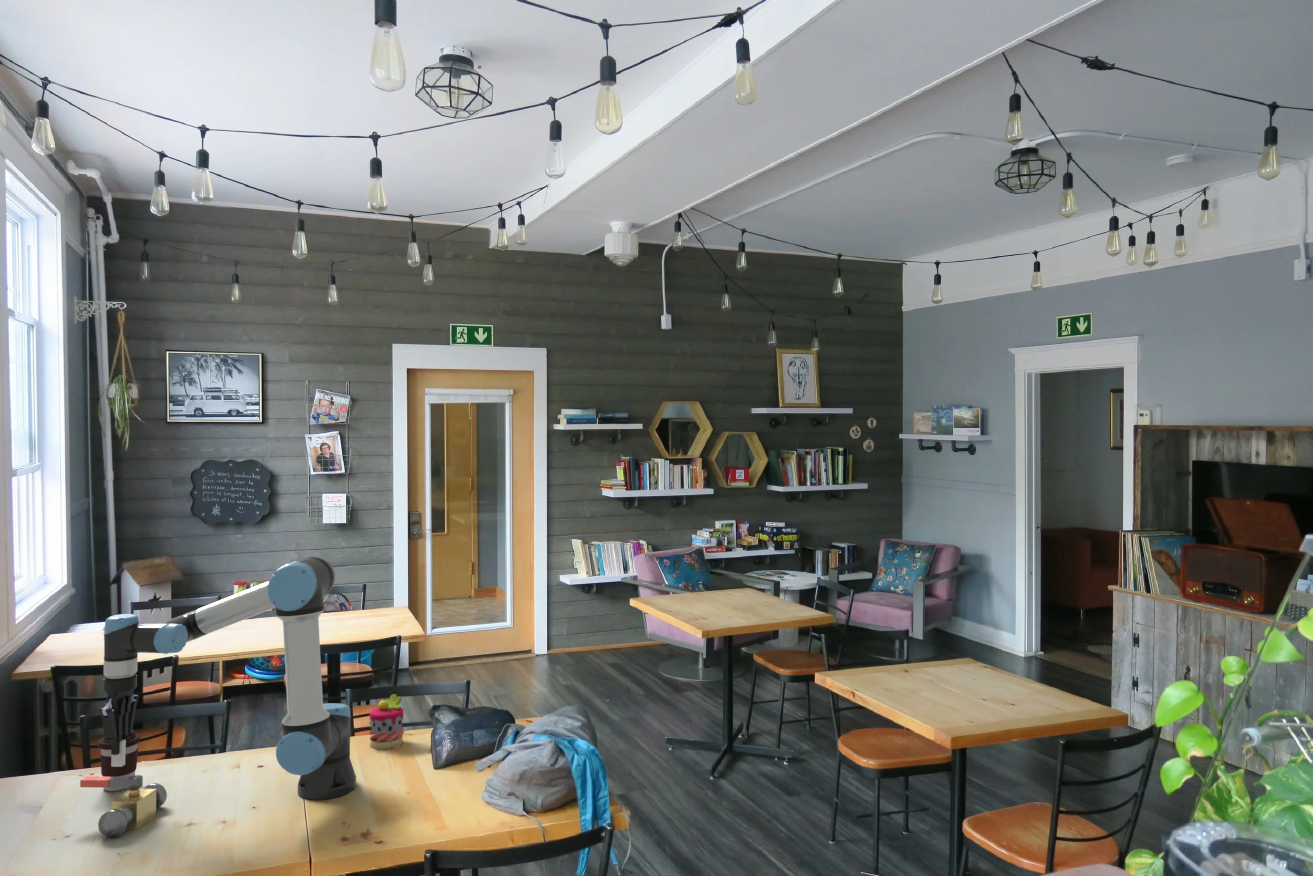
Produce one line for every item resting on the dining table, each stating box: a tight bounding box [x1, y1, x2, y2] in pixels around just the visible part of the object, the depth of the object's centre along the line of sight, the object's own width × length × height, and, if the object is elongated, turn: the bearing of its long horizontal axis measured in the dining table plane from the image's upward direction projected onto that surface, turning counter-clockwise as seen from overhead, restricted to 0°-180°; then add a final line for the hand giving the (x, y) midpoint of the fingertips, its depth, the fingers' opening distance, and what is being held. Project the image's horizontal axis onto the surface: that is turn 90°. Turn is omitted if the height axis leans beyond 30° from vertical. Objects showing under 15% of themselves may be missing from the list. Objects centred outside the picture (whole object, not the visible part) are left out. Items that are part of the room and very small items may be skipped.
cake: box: [368, 694, 405, 751], centre depth 271 cm, size 10×11×15 cm
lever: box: [79, 774, 144, 791], centre depth 214 cm, size 15×4×2 cm, turn 89°
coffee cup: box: [97, 729, 141, 792], centre depth 236 cm, size 10×10×15 cm
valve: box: [97, 782, 168, 839], centre depth 214 cm, size 20×6×9 cm, turn 179°
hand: (118, 765), depth 222 cm, fingers closed
